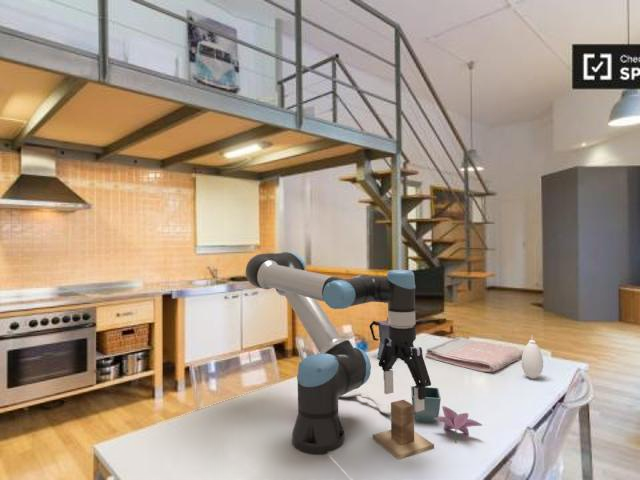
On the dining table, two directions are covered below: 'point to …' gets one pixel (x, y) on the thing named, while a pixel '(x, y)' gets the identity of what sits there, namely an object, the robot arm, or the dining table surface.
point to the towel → (474, 354)
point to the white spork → (382, 408)
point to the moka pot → (380, 334)
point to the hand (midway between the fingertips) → (403, 401)
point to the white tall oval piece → (532, 360)
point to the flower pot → (428, 405)
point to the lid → (402, 432)
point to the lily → (456, 421)
